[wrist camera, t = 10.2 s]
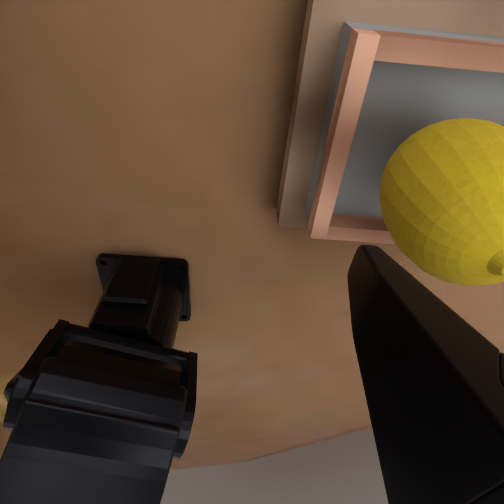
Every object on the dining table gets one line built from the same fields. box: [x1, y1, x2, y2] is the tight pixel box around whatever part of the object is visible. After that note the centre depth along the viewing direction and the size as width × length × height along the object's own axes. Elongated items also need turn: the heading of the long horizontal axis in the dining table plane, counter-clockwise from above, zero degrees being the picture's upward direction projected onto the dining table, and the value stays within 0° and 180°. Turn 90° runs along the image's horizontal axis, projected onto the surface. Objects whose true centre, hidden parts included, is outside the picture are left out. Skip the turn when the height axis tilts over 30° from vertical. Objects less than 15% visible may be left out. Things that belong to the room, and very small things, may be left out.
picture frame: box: [277, 0, 504, 244], centre depth 18 cm, size 12×12×5 cm
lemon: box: [379, 118, 504, 285], centre depth 14 cm, size 6×6×8 cm
